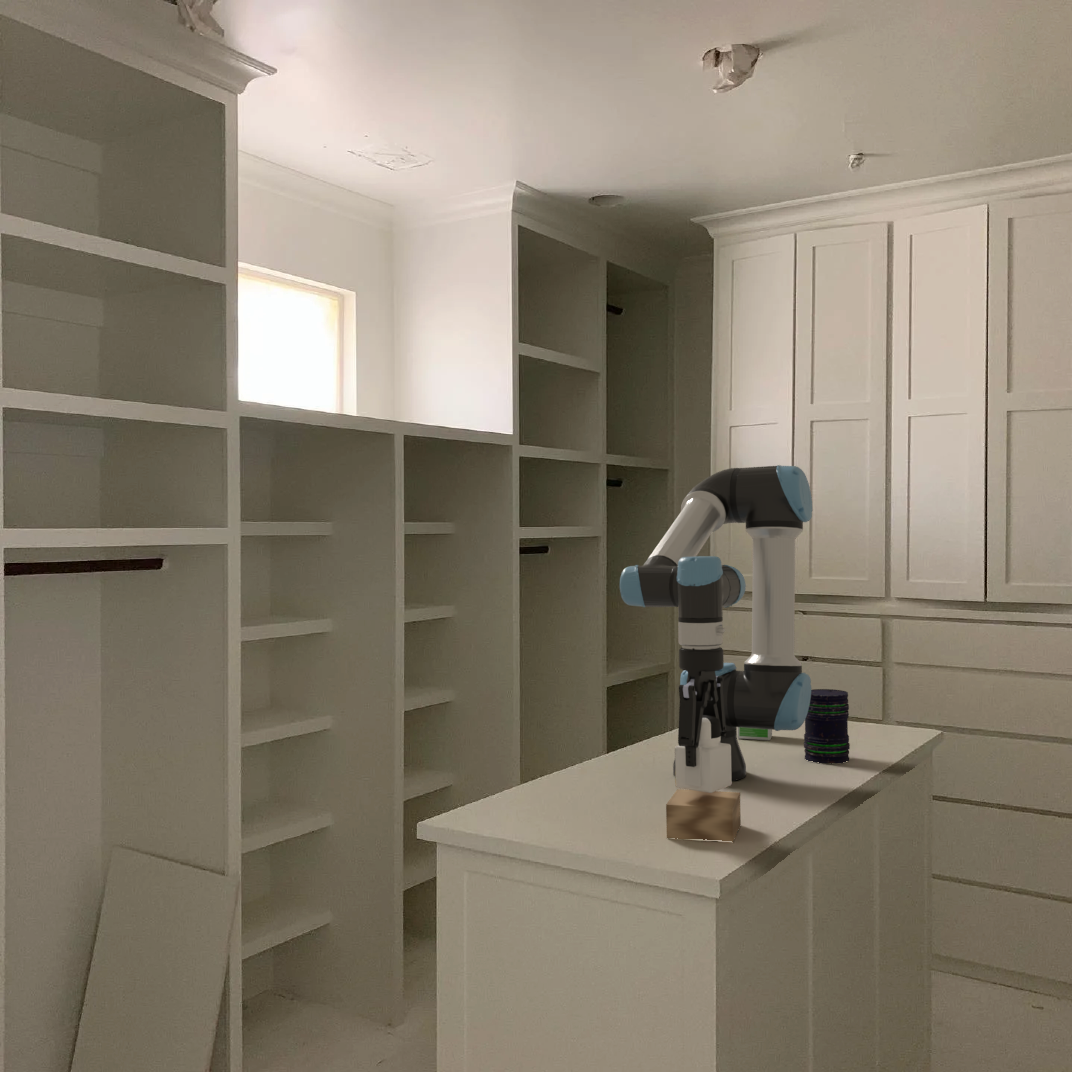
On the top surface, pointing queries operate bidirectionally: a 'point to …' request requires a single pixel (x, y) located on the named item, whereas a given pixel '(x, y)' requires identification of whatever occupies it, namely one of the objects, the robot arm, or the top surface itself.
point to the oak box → (703, 815)
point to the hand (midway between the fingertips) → (703, 779)
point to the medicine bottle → (707, 759)
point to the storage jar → (827, 727)
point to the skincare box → (754, 733)
